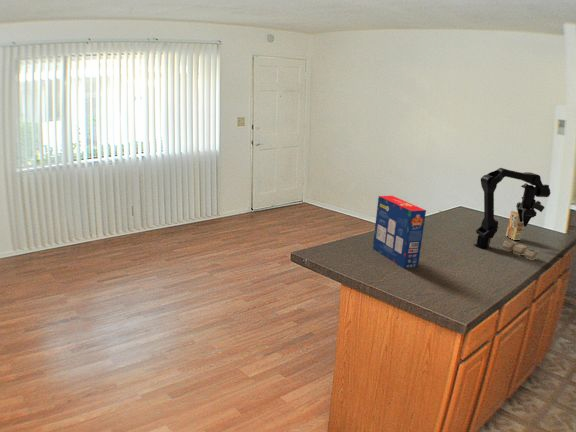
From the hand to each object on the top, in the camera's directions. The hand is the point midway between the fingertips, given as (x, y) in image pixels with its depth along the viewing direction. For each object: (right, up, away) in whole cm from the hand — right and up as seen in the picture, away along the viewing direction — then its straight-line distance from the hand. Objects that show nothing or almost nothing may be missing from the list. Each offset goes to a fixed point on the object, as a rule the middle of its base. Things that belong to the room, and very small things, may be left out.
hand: (522, 224), depth 278 cm
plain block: (-6, -16, -8) cm, 19 cm away
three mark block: (-3, -18, -14) cm, 23 cm away
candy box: (+2, -9, +18) cm, 20 cm away
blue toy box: (-75, -16, -25) cm, 81 cm away
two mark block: (-9, -14, -2) cm, 17 cm away
